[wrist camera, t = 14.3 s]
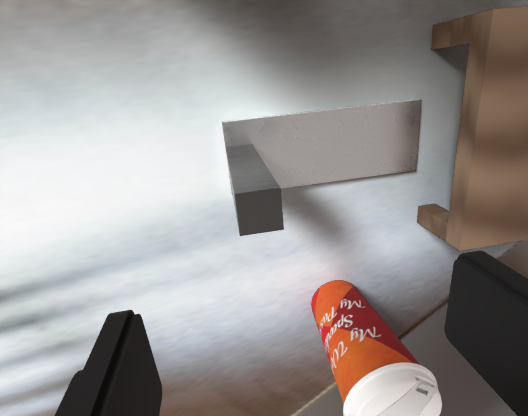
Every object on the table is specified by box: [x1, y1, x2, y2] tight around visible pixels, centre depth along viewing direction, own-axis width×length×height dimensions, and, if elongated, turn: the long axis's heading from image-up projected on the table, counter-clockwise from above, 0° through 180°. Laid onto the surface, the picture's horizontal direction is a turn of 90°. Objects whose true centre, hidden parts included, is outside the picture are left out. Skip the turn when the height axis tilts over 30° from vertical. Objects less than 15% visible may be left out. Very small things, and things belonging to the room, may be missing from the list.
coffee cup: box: [311, 280, 442, 416], centre depth 33 cm, size 8×8×15 cm
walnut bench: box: [417, 6, 528, 251], centre depth 31 cm, size 20×12×7 cm, turn 6°
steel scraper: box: [222, 99, 422, 236], centre depth 26 cm, size 7×19×15 cm, turn 95°
